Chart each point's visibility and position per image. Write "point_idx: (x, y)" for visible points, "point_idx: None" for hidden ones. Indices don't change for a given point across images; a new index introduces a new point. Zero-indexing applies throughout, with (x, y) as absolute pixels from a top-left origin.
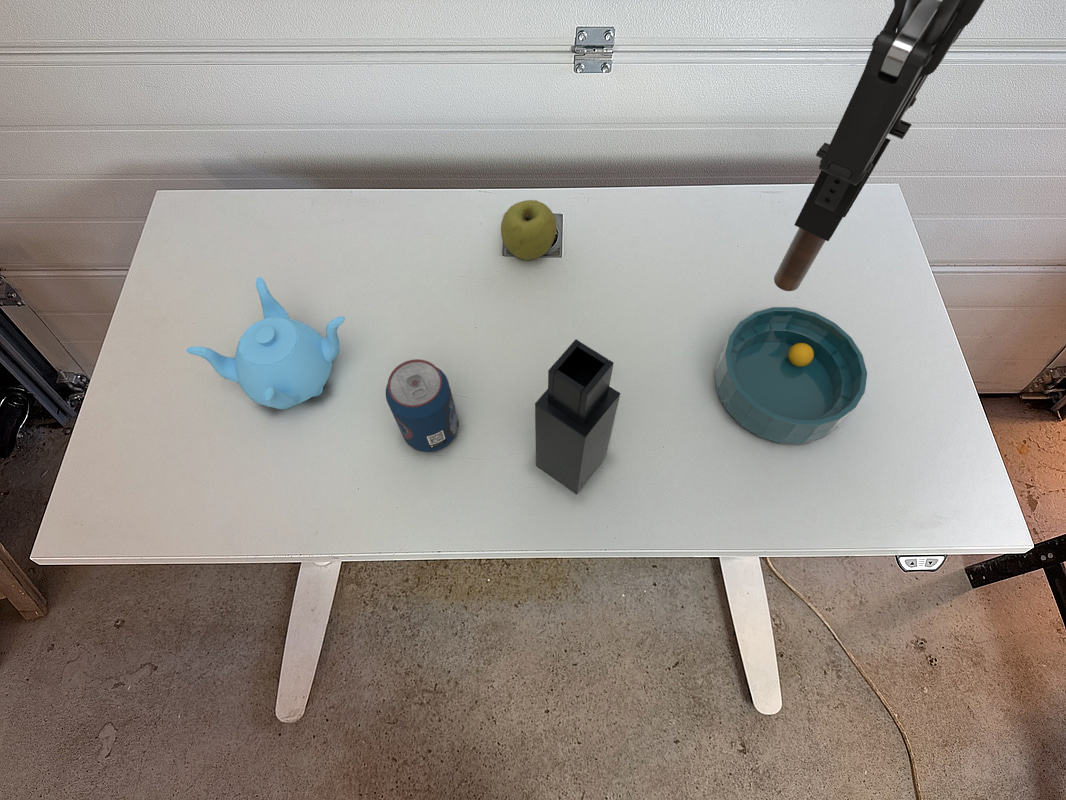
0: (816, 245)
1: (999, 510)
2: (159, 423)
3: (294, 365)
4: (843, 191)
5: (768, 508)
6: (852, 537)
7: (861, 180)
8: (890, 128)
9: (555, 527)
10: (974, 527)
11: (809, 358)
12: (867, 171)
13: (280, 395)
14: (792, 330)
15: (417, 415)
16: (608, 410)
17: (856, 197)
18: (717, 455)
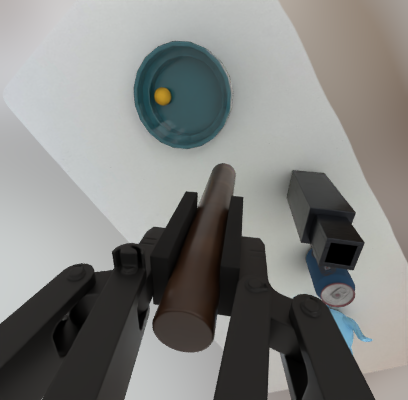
0: (229, 193)
1: None
2: (372, 348)
3: None
4: (266, 265)
5: (278, 61)
6: None
7: (316, 302)
8: (256, 368)
9: (350, 173)
10: None
11: (163, 90)
12: (261, 282)
13: (358, 331)
14: (151, 111)
15: (352, 283)
16: (324, 207)
17: (187, 204)
18: (257, 110)
